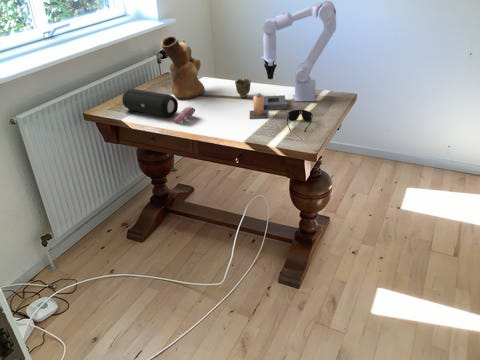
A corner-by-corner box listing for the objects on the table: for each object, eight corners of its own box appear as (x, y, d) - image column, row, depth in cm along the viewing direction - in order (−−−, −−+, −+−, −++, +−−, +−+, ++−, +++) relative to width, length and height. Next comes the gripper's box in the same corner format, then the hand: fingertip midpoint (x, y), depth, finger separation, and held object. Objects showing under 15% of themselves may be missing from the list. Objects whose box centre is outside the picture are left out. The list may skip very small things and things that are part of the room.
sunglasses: (312, 120, 187) (313, 110, 184) (310, 135, 178) (310, 125, 175) (288, 119, 189) (288, 109, 186) (284, 134, 180) (284, 124, 177)
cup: (251, 94, 216) (251, 78, 212) (250, 99, 210) (250, 83, 206) (236, 94, 217) (235, 78, 213) (235, 99, 211) (234, 83, 207)
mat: (267, 111, 197) (267, 109, 197) (268, 118, 190) (268, 117, 190) (249, 111, 198) (249, 110, 197) (249, 118, 191) (249, 117, 191)
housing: (284, 100, 207) (284, 95, 206) (286, 109, 198) (286, 104, 196) (261, 101, 208) (261, 96, 206) (261, 110, 198) (261, 105, 197)
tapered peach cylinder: (263, 111, 196) (263, 91, 191) (264, 115, 192) (263, 95, 187) (253, 112, 196) (252, 92, 191) (254, 116, 192) (253, 96, 187)
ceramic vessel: (211, 91, 222) (205, 30, 206) (184, 106, 207) (176, 41, 191) (186, 86, 230) (179, 27, 214) (158, 101, 214) (149, 38, 198)
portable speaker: (123, 112, 204) (119, 92, 199) (137, 105, 211) (133, 85, 206) (167, 121, 193) (164, 100, 188) (180, 113, 200) (177, 92, 195)
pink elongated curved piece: (180, 127, 190) (184, 115, 185) (172, 121, 191) (176, 109, 186) (194, 119, 197) (198, 107, 193) (186, 113, 198) (190, 101, 193)
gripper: (260, 43, 205) (261, 71, 212) (261, 51, 193) (261, 81, 200) (275, 42, 205) (275, 71, 212) (277, 51, 192) (277, 81, 199)
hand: (270, 76), depth 206 cm, fingers open, 7 cm apart
